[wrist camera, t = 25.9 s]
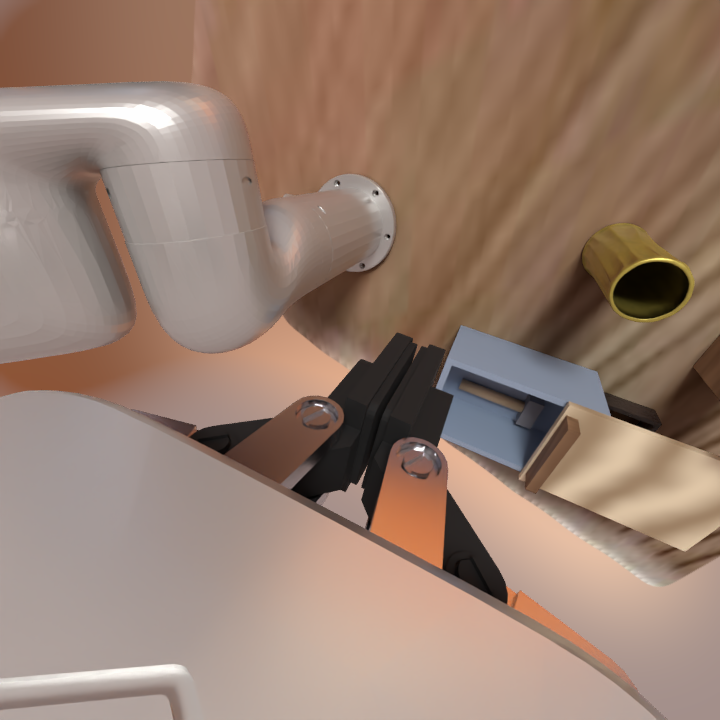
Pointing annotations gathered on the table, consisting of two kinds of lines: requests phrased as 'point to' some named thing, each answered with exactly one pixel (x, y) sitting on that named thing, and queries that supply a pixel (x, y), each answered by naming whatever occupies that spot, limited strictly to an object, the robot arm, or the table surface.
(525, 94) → the table surface
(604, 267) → the vase
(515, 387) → the toolbox
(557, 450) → the lid
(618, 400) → the socket
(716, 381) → the brown wooden block
